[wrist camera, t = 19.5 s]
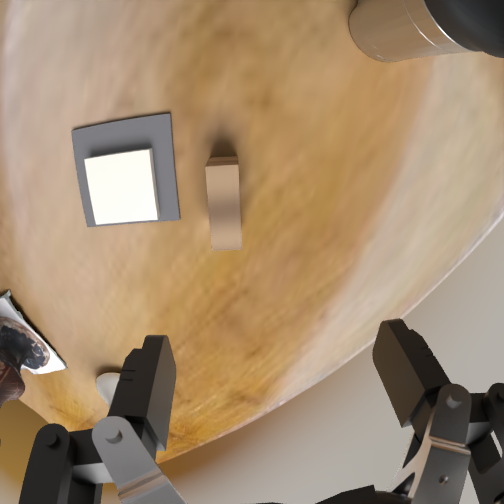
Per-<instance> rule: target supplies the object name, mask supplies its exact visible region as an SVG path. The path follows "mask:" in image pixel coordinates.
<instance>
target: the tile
mask: <svg viewBox="0 0 504 504" xmlns="http://www.w3.org/2000/svg"><path fill="white" fill-rule="evenodd" d="M84 160H85V167H86V174H87V180H88V186H89V192H90V197H91V203H92V208H93V213H94V218H95V222H96V225H98V224H109V223H121V222H133V221H146V220H158V218H159V217H160V211H159V204H158V196H157V188H156V180H155V171H154V162H153V152H152V148H148V149H140V150H133V151H125V152H119V153H112V154H106V155H100V156H94V157H89V158H86V159H84Z"/></svg>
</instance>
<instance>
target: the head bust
mask: <svg viewBox="0 0 504 504" xmlns="http://www.w3.org/2000/svg"><path fill="white" fill-rule="evenodd" d="M10 295H11V293H10V289H9V290H8V292H7V293H6V294H5V295H3V296H2V297H1V298H0V408H1V406H2V404H3V403H4V402H5V401H8V400H16V399H18V398H19V397H20V396H21V395H22V394H23V393H24V391H25V384H24V382H23V379H22V377H21V374H20V370H22V369H29V370H30V371H31V373H32V374H44V373H49V372H52V371H57V370H62V369H66V368H67V367H66V363H64V362H63V361H62V360H61V359H60V358H59V357H58V356H57V354H56V352H54V351H53V350H52V349H51V348H50V347H49V345H48V344H46V342H45V341H44V340H43V339H42V338H41V337H40V336H39V335H38V334H37V333H36V332H34V330H33V329H32V327H30V325H29V324H27V323H26V322H25V320H24V319H23V317H22V315H21V313H20V312H18V311H17V310H16V309H15V307H14V306H13V304H12V302H11V301H10V299H9V296H10ZM0 444H1V441H0Z"/></svg>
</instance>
